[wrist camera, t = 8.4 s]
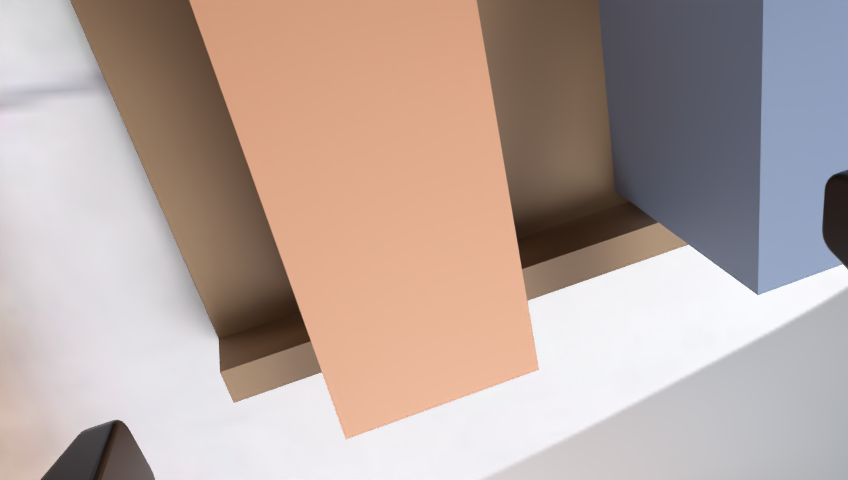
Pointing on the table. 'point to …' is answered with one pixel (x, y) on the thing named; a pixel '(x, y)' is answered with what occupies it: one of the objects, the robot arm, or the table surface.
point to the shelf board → (243, 211)
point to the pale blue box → (731, 125)
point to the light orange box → (380, 192)
